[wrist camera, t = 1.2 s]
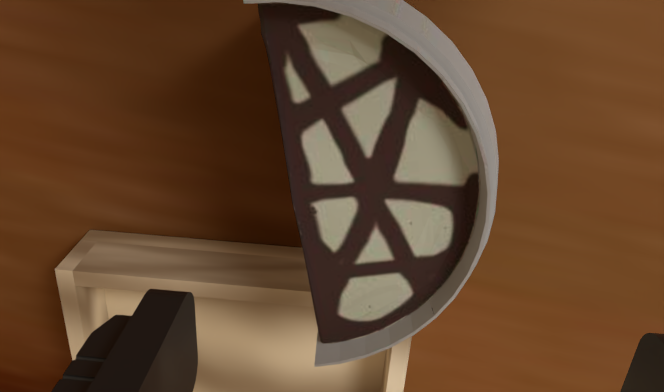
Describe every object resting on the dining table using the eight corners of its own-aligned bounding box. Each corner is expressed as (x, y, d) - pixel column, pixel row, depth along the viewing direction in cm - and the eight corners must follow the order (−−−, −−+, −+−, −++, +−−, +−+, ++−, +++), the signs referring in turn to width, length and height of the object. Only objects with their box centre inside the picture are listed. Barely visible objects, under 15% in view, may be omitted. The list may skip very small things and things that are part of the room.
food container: (466, 214, 27) (512, 369, 18) (335, 226, 27) (317, 379, 18) (456, -76, 21) (515, -64, 12) (293, -52, 22) (237, -25, 13)
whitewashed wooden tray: (89, 229, 28) (54, 269, 25) (412, 257, 28) (417, 301, 25) (124, 451, 36) (100, 503, 32) (380, 476, 35) (381, 531, 32)
